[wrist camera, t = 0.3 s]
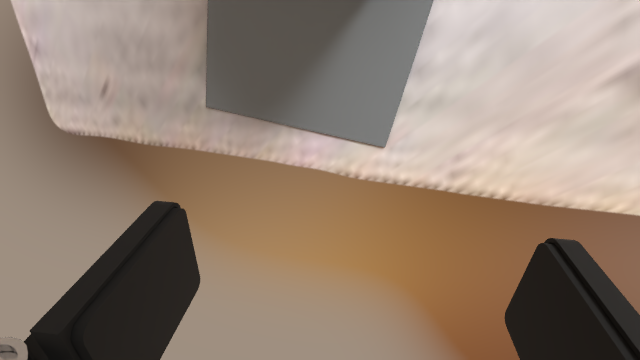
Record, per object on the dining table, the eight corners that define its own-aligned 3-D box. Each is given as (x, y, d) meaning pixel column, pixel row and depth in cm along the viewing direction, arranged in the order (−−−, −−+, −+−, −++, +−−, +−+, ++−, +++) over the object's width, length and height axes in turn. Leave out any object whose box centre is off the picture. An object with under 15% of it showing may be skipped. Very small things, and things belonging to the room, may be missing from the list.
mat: (210, -79, 31) (209, -79, 31) (441, -26, 31) (442, -26, 31) (207, 106, 40) (206, 106, 40) (384, 146, 40) (385, 147, 40)
